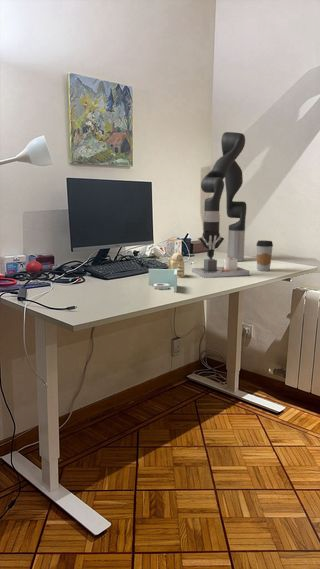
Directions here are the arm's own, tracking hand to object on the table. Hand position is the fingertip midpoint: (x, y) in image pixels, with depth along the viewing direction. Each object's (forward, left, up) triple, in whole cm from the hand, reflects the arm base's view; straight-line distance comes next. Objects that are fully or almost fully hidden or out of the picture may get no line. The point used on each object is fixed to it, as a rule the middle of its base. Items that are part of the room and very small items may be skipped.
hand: (210, 257), depth 221 cm
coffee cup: (-5, +33, -9) cm, 34 cm away
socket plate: (0, +6, -9) cm, 10 cm away
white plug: (0, +11, -8) cm, 14 cm away
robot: (+2, -18, -9) cm, 20 cm away
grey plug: (0, 0, -8) cm, 8 cm away
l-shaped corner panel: (+24, -33, -9) cm, 41 cm away
